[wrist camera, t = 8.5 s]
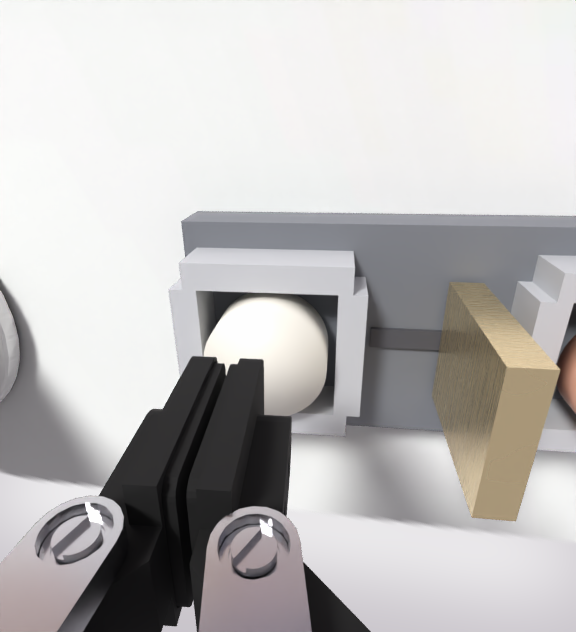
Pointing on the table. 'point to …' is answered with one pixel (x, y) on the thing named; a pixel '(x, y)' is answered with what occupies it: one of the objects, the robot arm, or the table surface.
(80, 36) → the table surface
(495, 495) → the thick plank
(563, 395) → the terracotta button
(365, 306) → the panel
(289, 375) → the cream button
